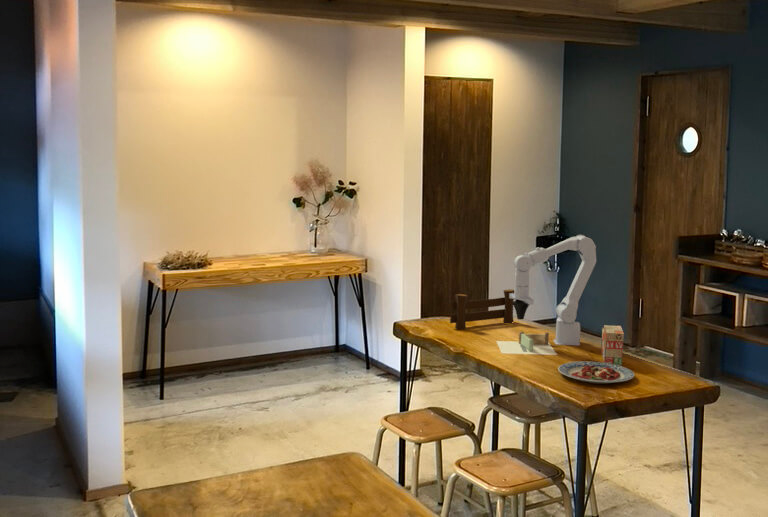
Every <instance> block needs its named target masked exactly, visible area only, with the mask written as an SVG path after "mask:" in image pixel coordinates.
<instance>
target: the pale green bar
mask: <svg viewBox="0 0 768 517" xmlns="http://www.w3.org/2000/svg"><path fill="white" fill-rule="evenodd" d="M525 334H526V333H524V334H521V344H522V345H523V346H524V347H525V348H527V349H528V350H529V351H533V339H530V338H528V337H527V336H526V335H525Z"/></svg>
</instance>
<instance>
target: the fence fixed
mask: <svg viewBox="0 0 768 517" xmlns="http://www.w3.org/2000/svg"><path fill="white" fill-rule="evenodd" d="M521 334H525V335H526V336H527V337H528V338H530V339H533V344H545V345H548V342H549V336H550V335H549V332H544V333H525V332H523V331H519V332H518V342H519V344H521Z"/></svg>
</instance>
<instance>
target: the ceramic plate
mask: <svg viewBox="0 0 768 517" xmlns="http://www.w3.org/2000/svg"><path fill="white" fill-rule="evenodd" d="M557 370H558V372H559V373H560V374H562V375H564V376H566V377H568V378H570V379H571V378H572V379H575V380H578V381H580V382H585V383H591V384H603V385H604V384H605V385H606V384H615V383H621V382H626V381H630V380H632V379H633V378H634V377H635V373H634V371H632V370H631V369H629V368H628V367H624V366H622V365H614V364H609V363H604V362H601V361H600V362H599V361H582V360H581V361H570V362H565V363H563V364H561V365H559V366H558V368H557Z"/></svg>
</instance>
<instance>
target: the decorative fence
mask: <svg viewBox="0 0 768 517" xmlns="http://www.w3.org/2000/svg"><path fill="white" fill-rule="evenodd" d="M502 292H503V296H504V297H497V298H488V299H477V300H468V296H469V295H467V294H463V293H462V294H461V293H457V294H454V296H455V301H454V300H453V301H452V300H451V301H450V310H456V313H451V314H450V319H449V323H450V324H455V325H454V329H456V330H459V331H460V330H461V331H462V330H463V331H464V330H467V325H466V323H468V322H469V323H470V322H479V321H487V320H488V321H489V320H496V319H497V320H499V319H502V320H503V321H502V323H503V322H504V323H512V322H514V305H513V303H512V302H513V301H514V300H515V299H511V298H509V294H510V293H514V289H503V291H502ZM499 306H501V307H502V306H504V308H502V309H501V308H500V309H492V310H491V309H490V310H482V311H473V312H466V310H474V309H482V308H484V309H486V308H495V307H499ZM504 323H503V324H504ZM512 324H513V323H512Z"/></svg>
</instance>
